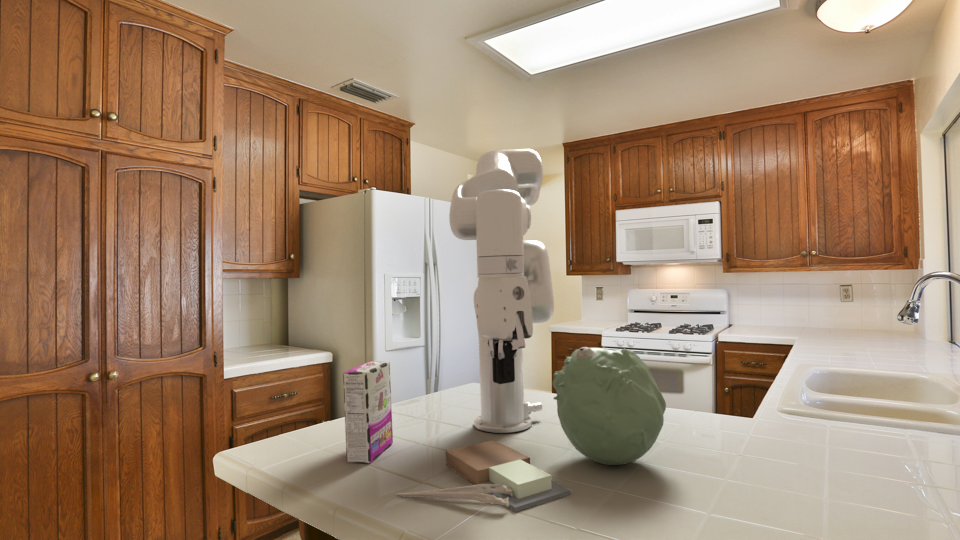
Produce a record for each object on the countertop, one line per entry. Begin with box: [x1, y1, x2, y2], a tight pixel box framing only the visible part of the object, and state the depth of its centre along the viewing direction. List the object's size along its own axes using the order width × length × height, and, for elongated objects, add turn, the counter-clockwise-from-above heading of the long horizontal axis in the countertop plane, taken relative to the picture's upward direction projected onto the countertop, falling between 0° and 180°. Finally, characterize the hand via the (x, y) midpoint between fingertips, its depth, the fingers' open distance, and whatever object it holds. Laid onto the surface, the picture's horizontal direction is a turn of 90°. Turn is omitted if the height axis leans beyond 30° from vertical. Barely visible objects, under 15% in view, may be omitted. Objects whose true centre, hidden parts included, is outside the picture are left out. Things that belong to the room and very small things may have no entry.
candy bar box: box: [342, 360, 394, 464], centre depth 94 cm, size 11×5×16 cm, turn 168°
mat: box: [480, 479, 572, 513], centre depth 75 cm, size 10×10×1 cm
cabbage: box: [552, 346, 667, 466], centre depth 86 cm, size 16×19×20 cm
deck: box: [445, 439, 531, 485], centre depth 85 cm, size 10×11×2 cm
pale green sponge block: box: [489, 460, 552, 499], centre depth 76 cm, size 6×8×2 cm
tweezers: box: [396, 484, 513, 508], centre depth 73 cm, size 18×5×2 cm, turn 75°
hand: (503, 381), depth 80 cm, fingers closed
